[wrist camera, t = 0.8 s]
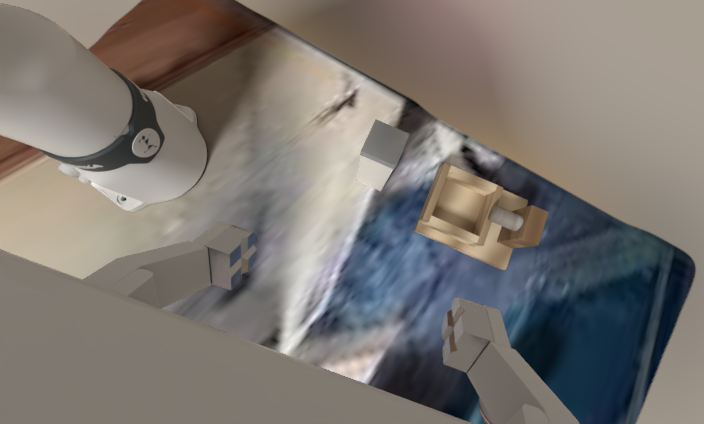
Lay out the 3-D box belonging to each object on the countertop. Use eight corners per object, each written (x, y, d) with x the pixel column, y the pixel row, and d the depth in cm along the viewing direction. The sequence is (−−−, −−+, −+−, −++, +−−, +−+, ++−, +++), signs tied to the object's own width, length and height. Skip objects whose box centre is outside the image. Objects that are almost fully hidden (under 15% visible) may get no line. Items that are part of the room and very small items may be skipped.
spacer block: (355, 180, 45) (360, 150, 33) (366, 156, 46) (375, 119, 34) (381, 192, 45) (395, 166, 33) (391, 167, 46) (410, 134, 34)
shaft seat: (412, 230, 44) (426, 223, 37) (438, 165, 46) (456, 147, 39) (501, 269, 43) (533, 270, 36) (523, 202, 46) (557, 190, 39)
